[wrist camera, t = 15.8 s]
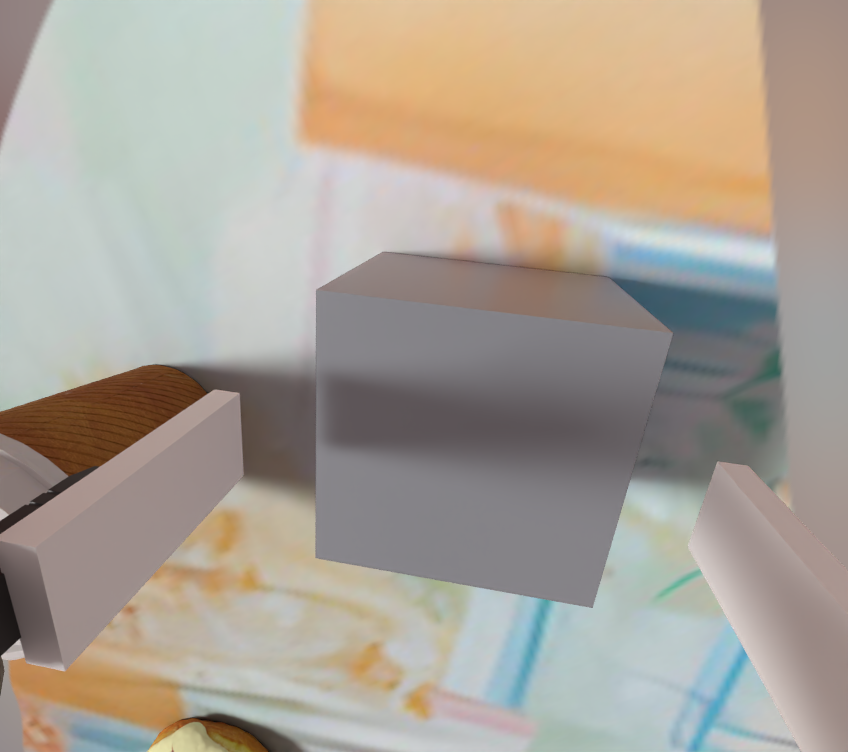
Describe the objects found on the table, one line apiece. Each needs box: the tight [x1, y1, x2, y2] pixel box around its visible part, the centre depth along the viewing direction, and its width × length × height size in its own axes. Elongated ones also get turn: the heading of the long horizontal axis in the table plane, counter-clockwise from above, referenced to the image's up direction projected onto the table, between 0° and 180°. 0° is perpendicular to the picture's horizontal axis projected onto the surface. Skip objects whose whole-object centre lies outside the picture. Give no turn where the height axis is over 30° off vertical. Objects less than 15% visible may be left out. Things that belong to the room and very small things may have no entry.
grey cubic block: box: [316, 252, 673, 608], centre depth 20 cm, size 10×10×9 cm
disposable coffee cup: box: [0, 365, 207, 660], centre depth 22 cm, size 10×10×12 cm
